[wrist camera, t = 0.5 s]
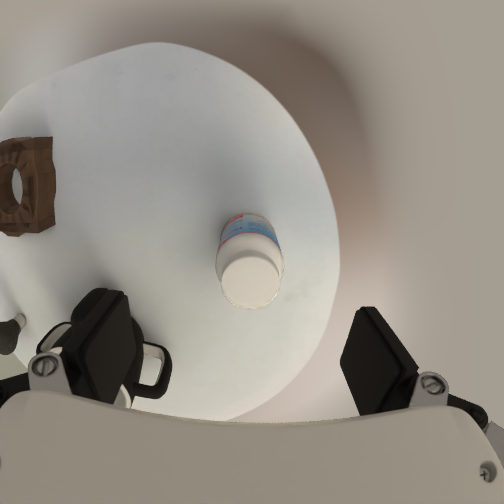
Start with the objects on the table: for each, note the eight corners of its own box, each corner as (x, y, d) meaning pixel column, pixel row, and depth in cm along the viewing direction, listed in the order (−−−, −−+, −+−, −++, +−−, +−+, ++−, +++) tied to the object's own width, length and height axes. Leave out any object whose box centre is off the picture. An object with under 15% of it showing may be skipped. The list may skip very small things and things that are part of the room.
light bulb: (24, 331, 37) (-2, 362, 27) (10, 307, 35) (-19, 335, 26) (38, 327, 36) (10, 360, 27) (22, 301, 34) (-9, 332, 25)
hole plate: (0, 144, 25) (-17, 147, 21) (56, 131, 25) (37, 131, 22) (5, 227, 29) (-11, 235, 26) (59, 229, 30) (42, 238, 26)
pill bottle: (231, 205, 30) (223, 236, 20) (282, 222, 31) (302, 261, 20) (215, 253, 32) (202, 304, 22) (264, 268, 33) (273, 324, 22)
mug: (117, 377, 40) (95, 428, 29) (57, 306, 35) (17, 351, 23) (189, 352, 37) (175, 417, 26) (121, 263, 32) (76, 314, 21)
